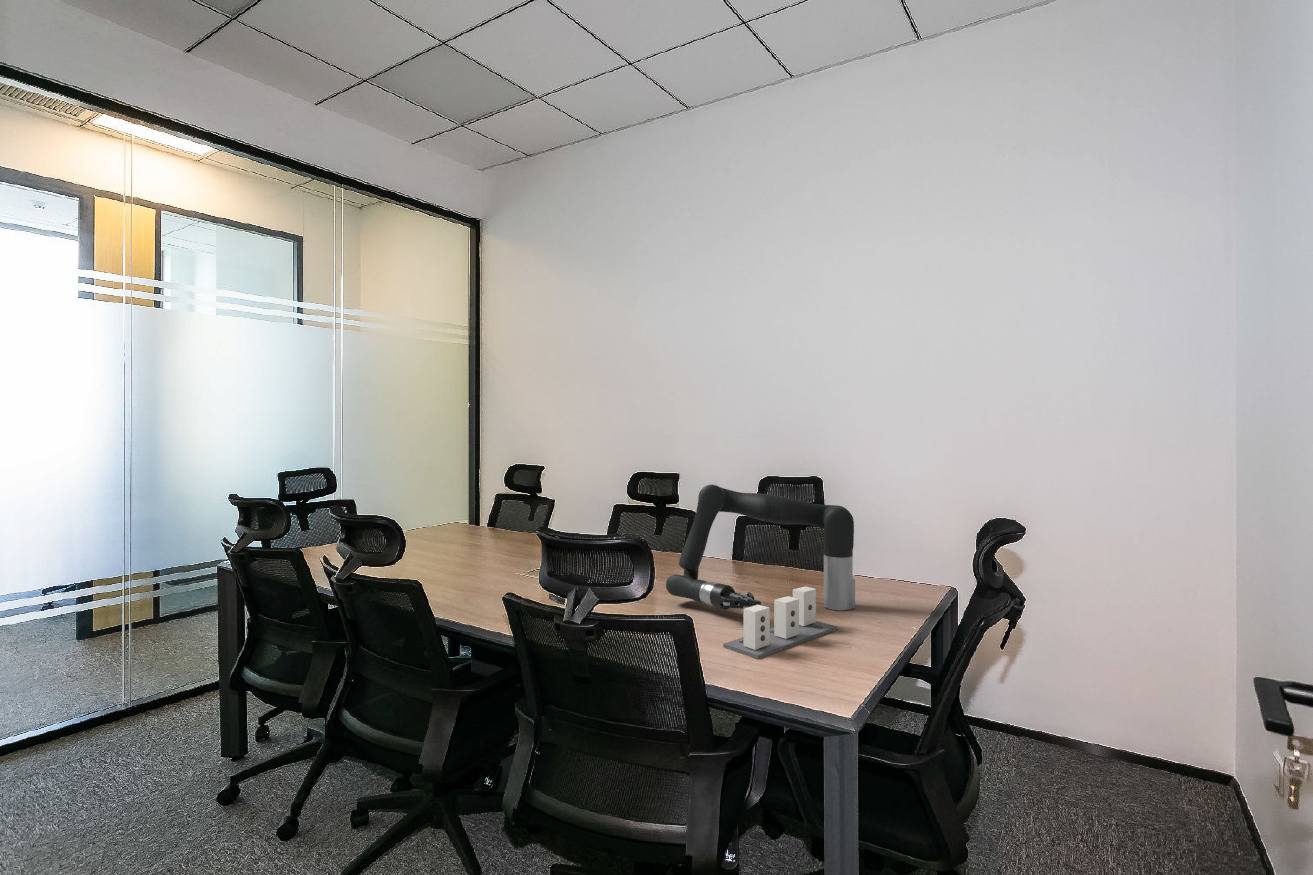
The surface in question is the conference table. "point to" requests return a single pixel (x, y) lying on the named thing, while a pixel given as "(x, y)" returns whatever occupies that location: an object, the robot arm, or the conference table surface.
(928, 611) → the conference table surface
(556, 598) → the media streaming box
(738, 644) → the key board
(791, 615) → the key two dots
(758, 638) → the key three dots
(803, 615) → the key one dot
